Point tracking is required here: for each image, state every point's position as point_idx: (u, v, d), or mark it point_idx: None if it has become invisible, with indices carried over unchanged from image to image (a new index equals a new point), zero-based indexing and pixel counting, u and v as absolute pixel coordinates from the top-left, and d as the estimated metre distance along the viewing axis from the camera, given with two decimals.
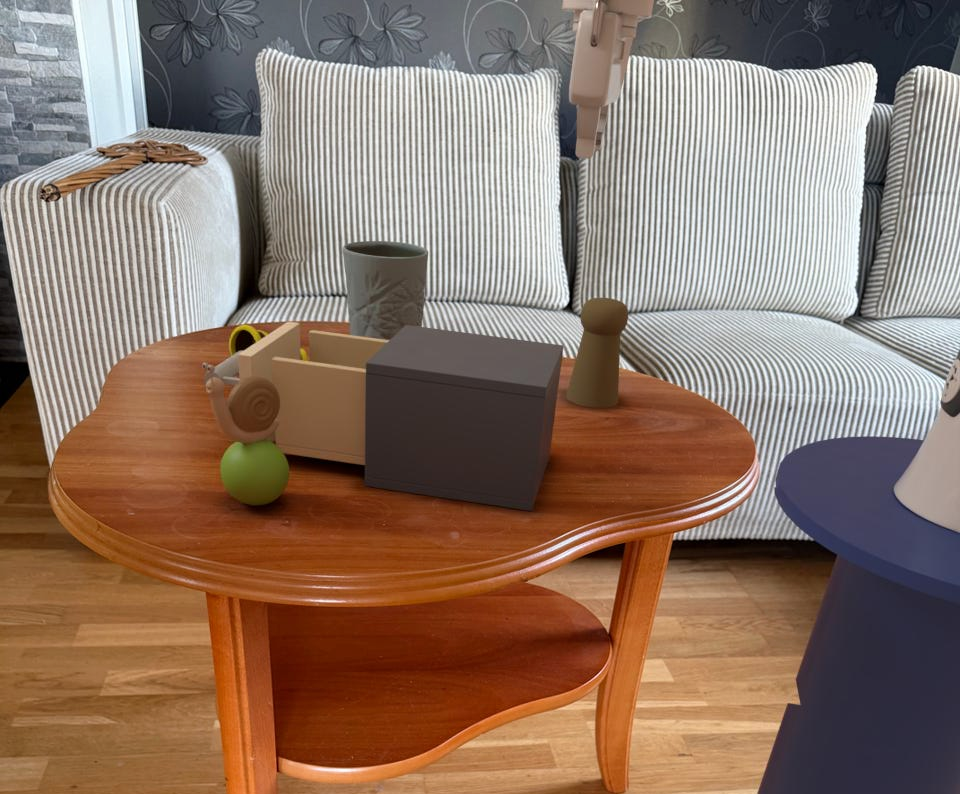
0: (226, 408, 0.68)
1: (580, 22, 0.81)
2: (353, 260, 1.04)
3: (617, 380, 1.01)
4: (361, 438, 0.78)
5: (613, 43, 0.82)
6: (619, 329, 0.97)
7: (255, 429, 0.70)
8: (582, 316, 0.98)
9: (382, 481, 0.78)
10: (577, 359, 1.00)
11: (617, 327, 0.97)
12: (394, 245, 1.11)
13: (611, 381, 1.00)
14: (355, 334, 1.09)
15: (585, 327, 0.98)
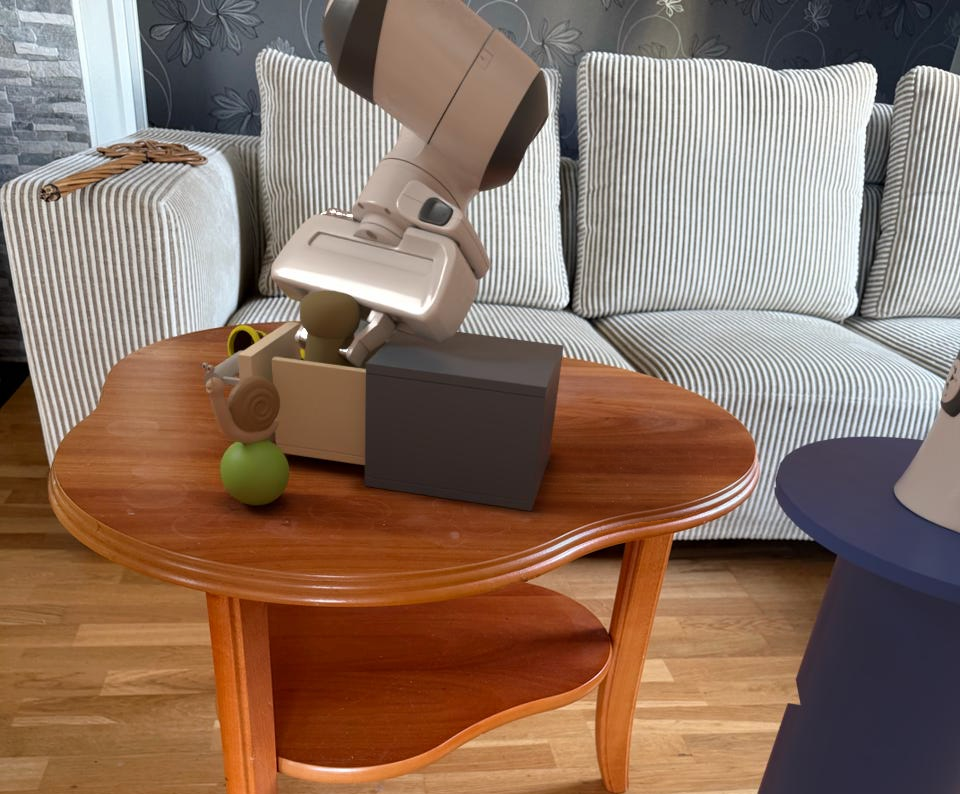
0: (226, 408, 0.68)
1: None
2: None
3: None
4: (361, 438, 0.78)
5: (297, 230, 0.83)
6: (345, 330, 0.76)
7: (255, 429, 0.70)
8: (300, 314, 0.77)
9: (382, 481, 0.78)
10: None
11: (341, 328, 0.76)
12: None
13: None
14: (355, 334, 1.09)
15: (304, 328, 0.77)
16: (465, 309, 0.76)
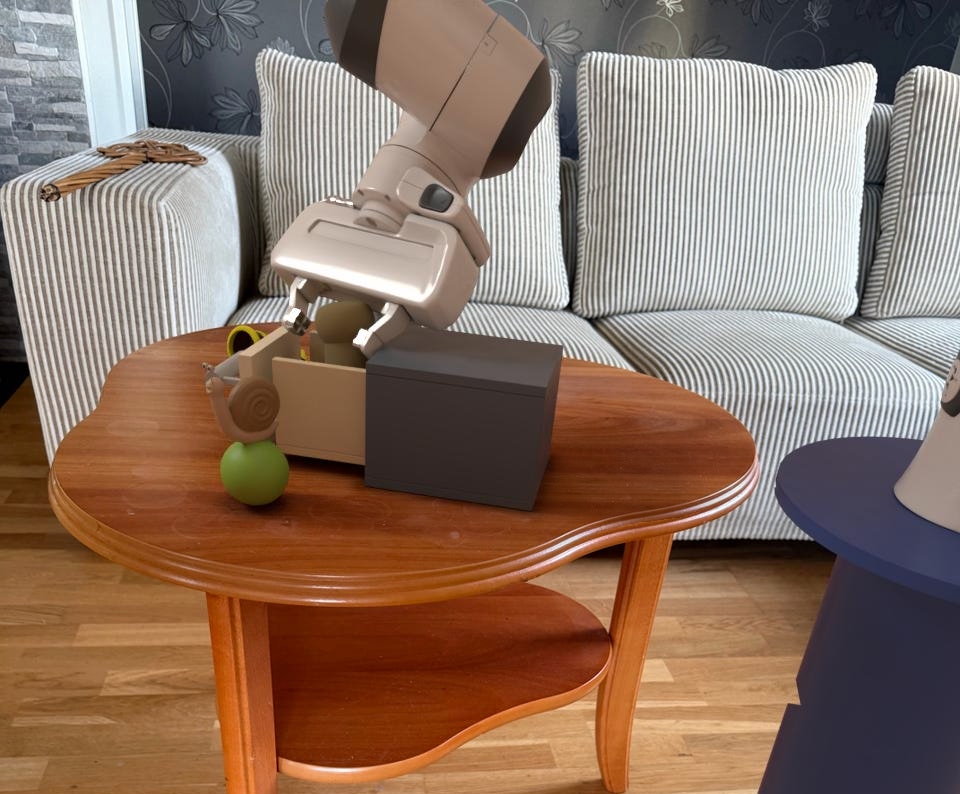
0: (226, 408, 0.68)
1: None
2: None
3: None
4: (361, 438, 0.78)
5: (297, 218, 0.82)
6: None
7: (255, 429, 0.70)
8: (316, 326, 0.78)
9: (382, 481, 0.78)
10: None
11: (355, 329, 0.76)
12: None
13: None
14: None
15: (321, 338, 0.78)
16: (465, 297, 0.76)
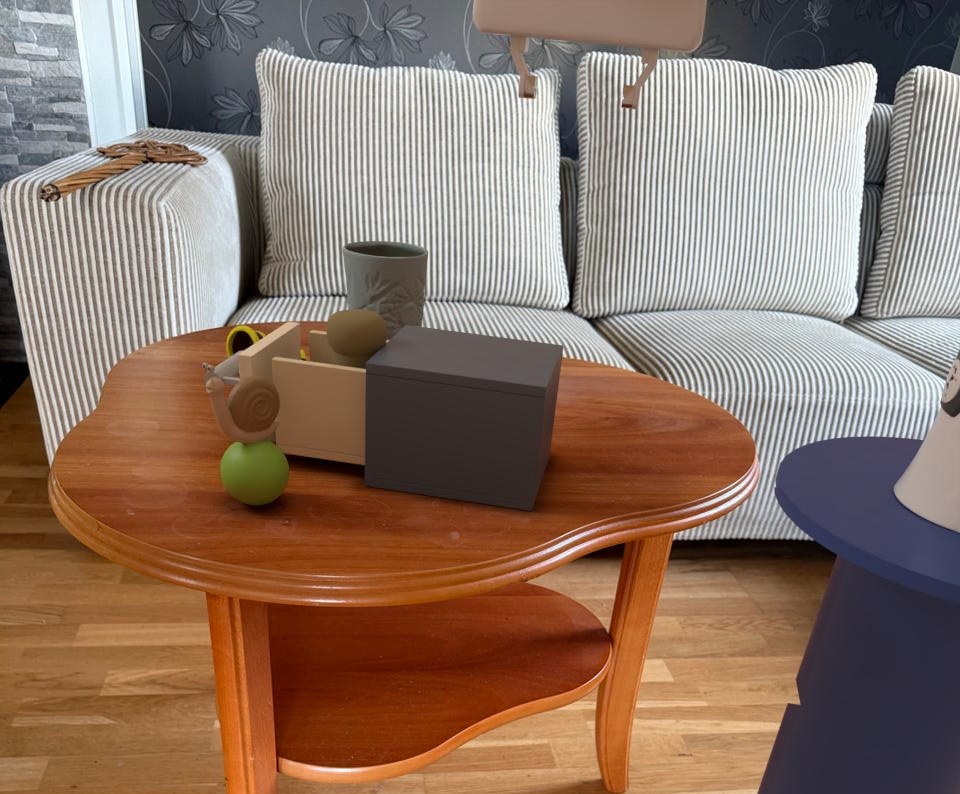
0: (226, 408, 0.68)
1: None
2: (353, 260, 1.04)
3: None
4: (361, 438, 0.78)
5: None
6: (371, 348, 0.76)
7: (255, 429, 0.70)
8: None
9: (382, 481, 0.78)
10: None
11: (367, 346, 0.76)
12: (394, 245, 1.11)
13: None
14: None
15: (331, 347, 0.77)
16: None
